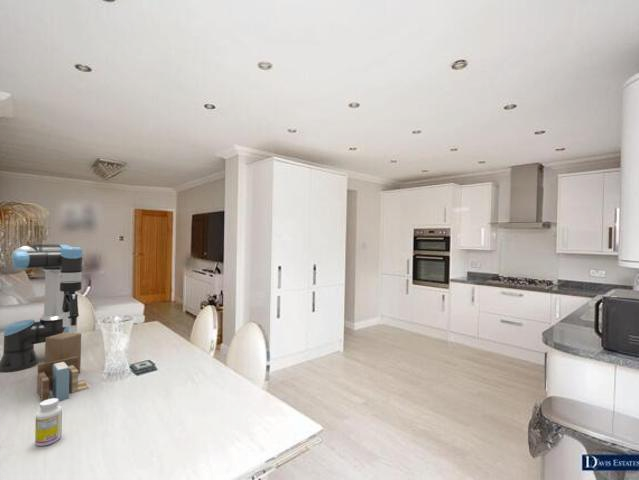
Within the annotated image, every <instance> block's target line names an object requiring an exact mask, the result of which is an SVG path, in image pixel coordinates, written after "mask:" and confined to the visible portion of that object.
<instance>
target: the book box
mask: <svg viewBox="0 0 639 480" xmlns="http://www.w3.org/2000/svg"><path fill="white" fill-rule="evenodd" d="M51 395H52V398H57V399H58V402H62V401H65V400H68V399H70V390H69V367H68V365H67V364H66V363H65V362H60V363H56V364H53V374H52V390H51Z"/></svg>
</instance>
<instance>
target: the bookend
mask: <svg viewBox="0 0 639 480" xmlns="http://www.w3.org/2000/svg"><path fill="white" fill-rule="evenodd" d="M68 367H69V392H71V393H72V394H74V393H77V392H80V391H84V390H87V389H89V387H90V386H89V385H88V384H87V383H86V382H85V380H79V374H78V370H77V369H76V368H75V367H74V366H73V365H71V366H68Z"/></svg>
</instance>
